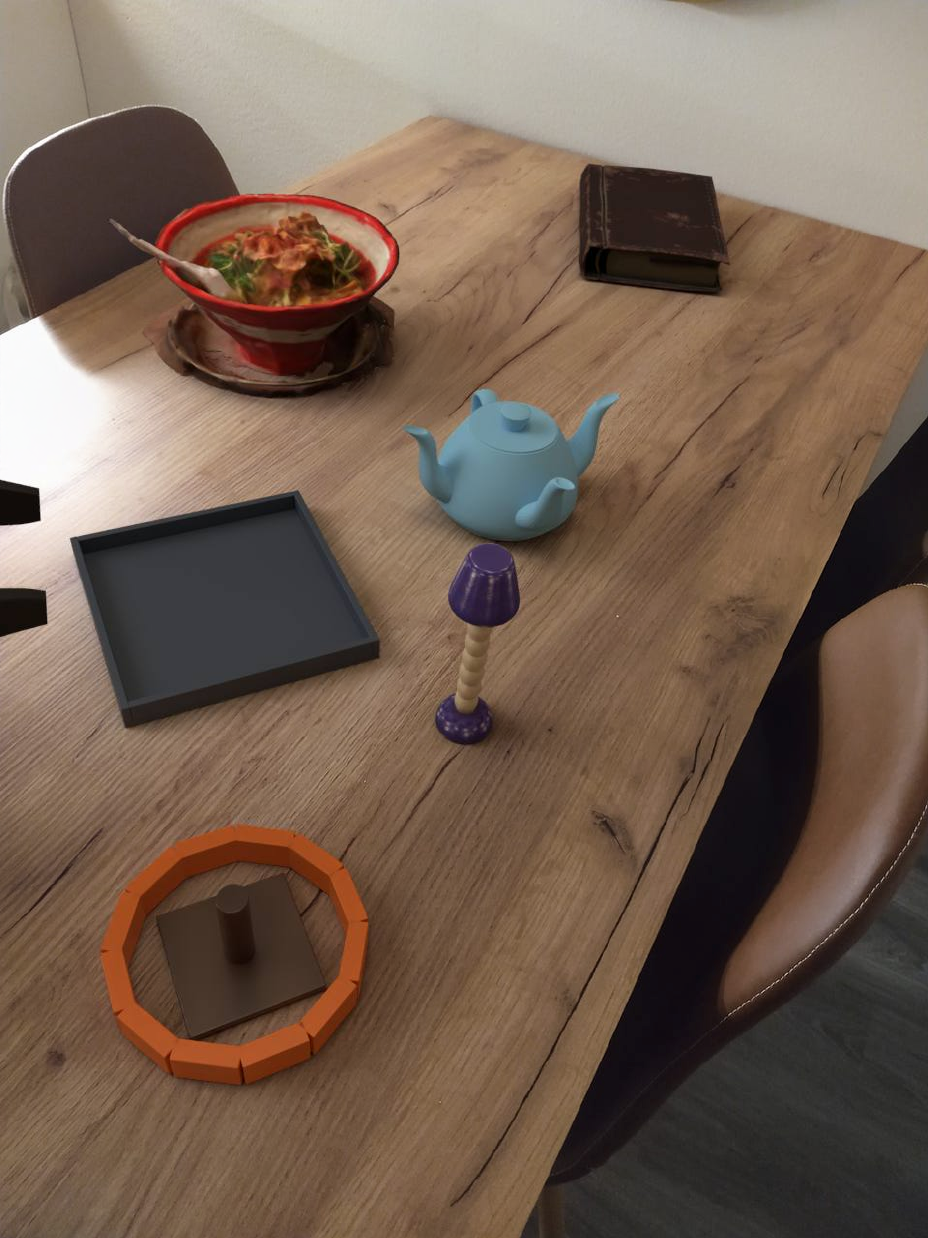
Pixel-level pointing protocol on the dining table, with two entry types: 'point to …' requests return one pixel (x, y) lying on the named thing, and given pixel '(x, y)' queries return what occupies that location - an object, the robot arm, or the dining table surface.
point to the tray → (219, 605)
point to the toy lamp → (477, 636)
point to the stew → (275, 291)
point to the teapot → (508, 467)
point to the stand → (239, 955)
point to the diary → (650, 228)
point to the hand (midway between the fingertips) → (43, 554)
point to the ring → (270, 1049)
